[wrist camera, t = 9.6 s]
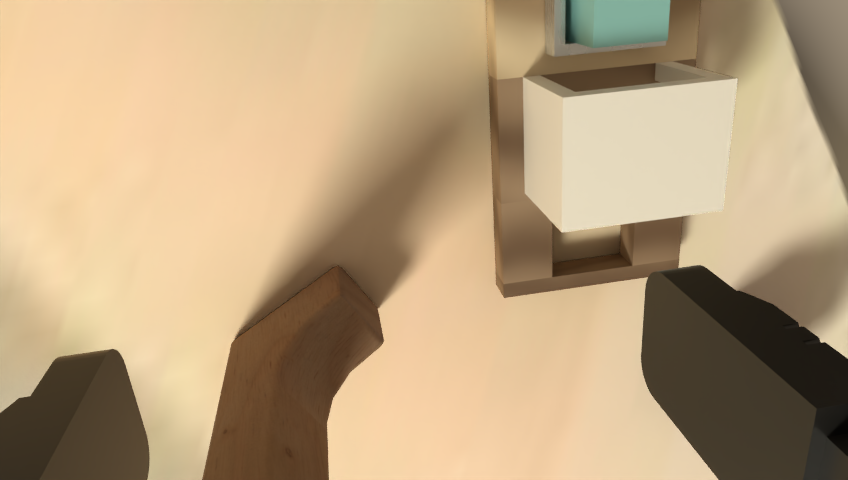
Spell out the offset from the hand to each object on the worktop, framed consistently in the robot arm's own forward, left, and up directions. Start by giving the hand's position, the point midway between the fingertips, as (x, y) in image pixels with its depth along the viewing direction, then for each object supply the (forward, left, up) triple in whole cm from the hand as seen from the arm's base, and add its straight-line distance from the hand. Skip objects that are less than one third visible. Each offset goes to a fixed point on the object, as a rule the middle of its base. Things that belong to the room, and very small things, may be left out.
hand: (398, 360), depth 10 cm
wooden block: (+16, -4, -30) cm, 35 cm away
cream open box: (+4, +15, -28) cm, 32 cm away
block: (-3, +15, -28) cm, 32 cm away
